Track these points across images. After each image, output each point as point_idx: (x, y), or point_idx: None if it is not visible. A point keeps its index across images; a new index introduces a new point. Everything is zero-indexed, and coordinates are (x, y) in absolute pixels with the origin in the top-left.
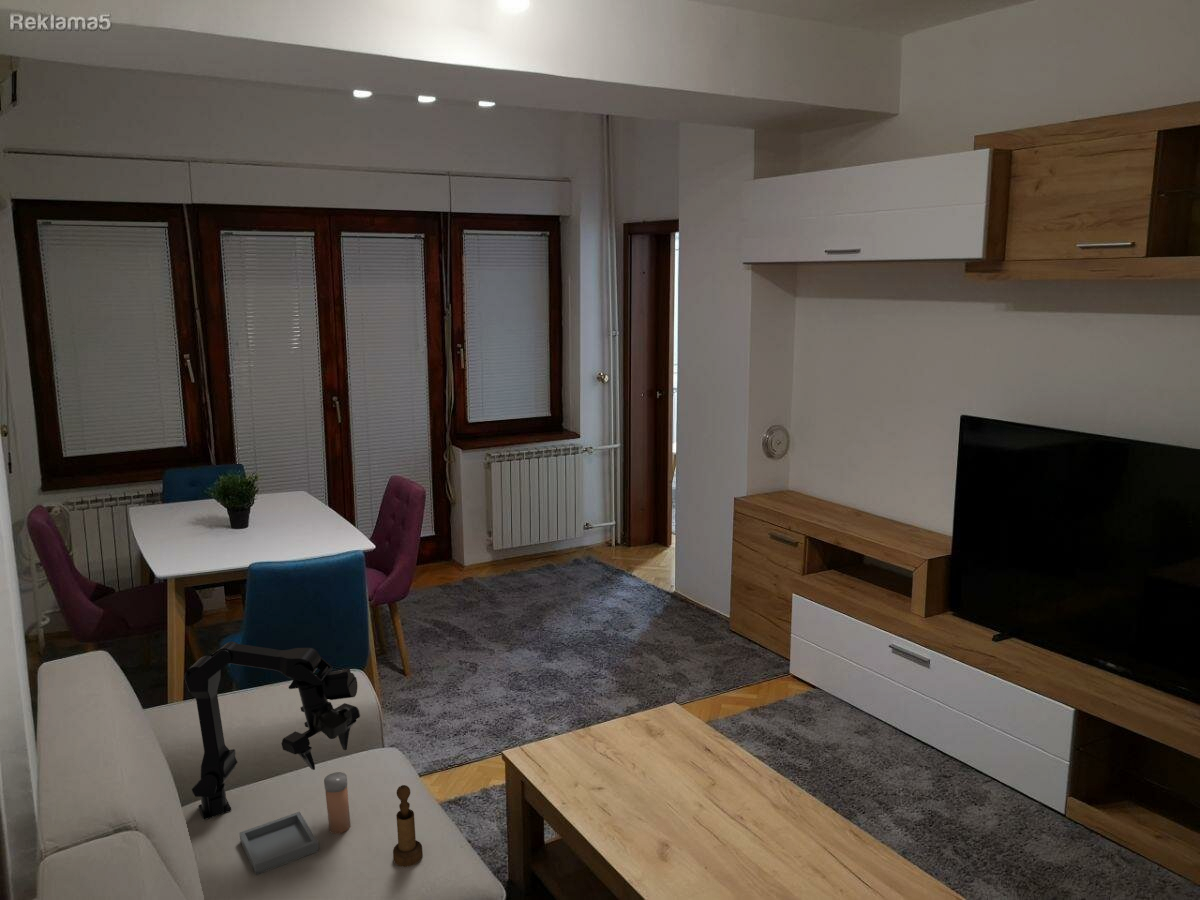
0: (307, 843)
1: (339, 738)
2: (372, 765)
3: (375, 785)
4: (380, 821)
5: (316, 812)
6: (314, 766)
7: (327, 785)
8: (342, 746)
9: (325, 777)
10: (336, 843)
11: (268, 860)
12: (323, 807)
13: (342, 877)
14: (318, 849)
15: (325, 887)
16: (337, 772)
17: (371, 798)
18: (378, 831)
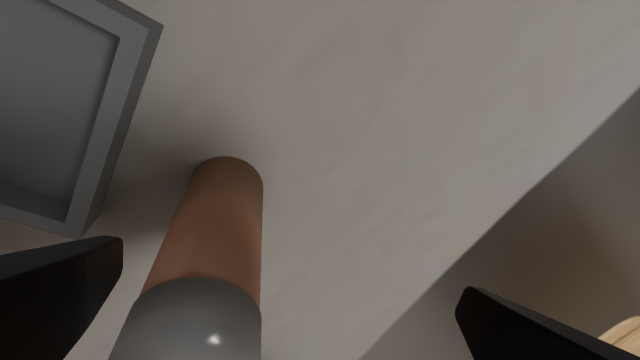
0: (41, 220)
1: (563, 356)
2: (591, 32)
3: (466, 133)
4: (309, 260)
5: (245, 49)
6: (97, 305)
7: None
8: (482, 311)
9: (152, 328)
10: (162, 232)
11: None
12: (285, 51)
13: None
14: (94, 220)
15: None
16: (244, 343)
17: (396, 171)
18: (271, 281)
